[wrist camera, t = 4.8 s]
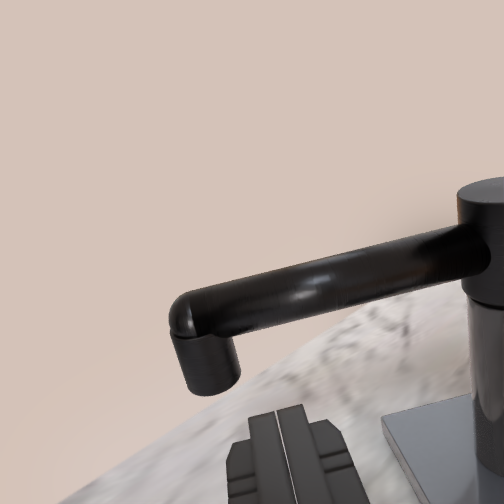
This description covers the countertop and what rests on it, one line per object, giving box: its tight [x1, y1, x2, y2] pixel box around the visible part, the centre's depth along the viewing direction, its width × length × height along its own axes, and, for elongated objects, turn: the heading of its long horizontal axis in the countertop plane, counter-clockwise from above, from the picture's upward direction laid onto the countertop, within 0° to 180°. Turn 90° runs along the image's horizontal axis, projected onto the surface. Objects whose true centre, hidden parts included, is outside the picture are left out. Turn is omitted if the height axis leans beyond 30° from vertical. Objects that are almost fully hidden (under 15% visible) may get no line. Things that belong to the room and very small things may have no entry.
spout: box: [169, 177, 504, 396], centre depth 19 cm, size 18×4×6 cm, turn 97°
